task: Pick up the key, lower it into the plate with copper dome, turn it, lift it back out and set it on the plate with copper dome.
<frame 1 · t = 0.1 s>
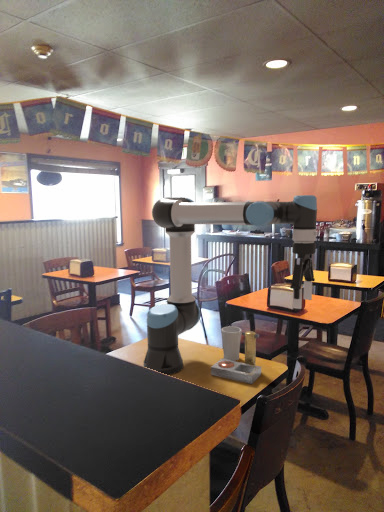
hand: (302, 303, 134), 28 cm above the table, fingers open, 13 cm apart
cup: (231, 358, 159), on the table
plate with copper dome: (236, 374, 144), on the table
key: (250, 368, 149), on the table
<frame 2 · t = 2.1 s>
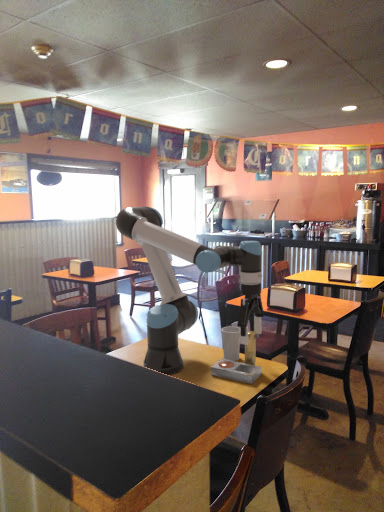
hand: (251, 338, 147), 12 cm above the table, fingers open, 13 cm apart
nothing on the table moved.
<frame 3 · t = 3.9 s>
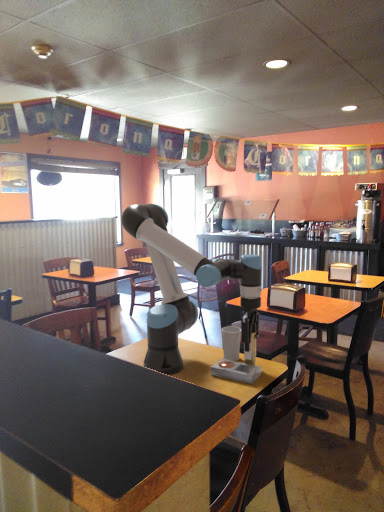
hand: (250, 356, 148), 5 cm above the table, fingers closed on key, 4 cm apart
key: (250, 368, 149), on the table, touching gripper
everything else where it was.
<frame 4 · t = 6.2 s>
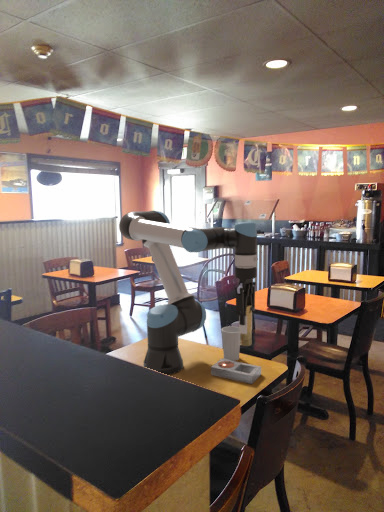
hand: (245, 331, 140), 17 cm above the table, fingers closed on key, 4 cm apart
key: (245, 344, 140), point 12 cm above the table, touching gripper
everything else where it was.
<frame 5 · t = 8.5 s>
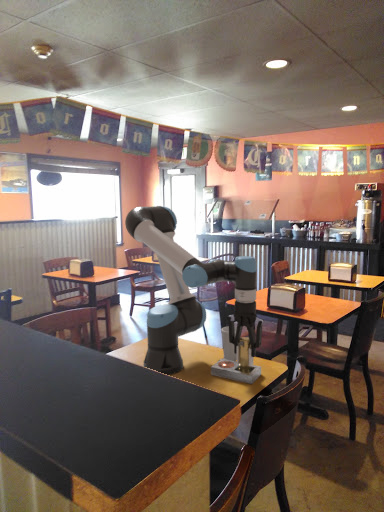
hand: (244, 363, 141), 5 cm above the table, fingers closed on key, 4 cm apart
key: (244, 376, 142), resting in plate with copper dome, touching gripper
everything else where it was.
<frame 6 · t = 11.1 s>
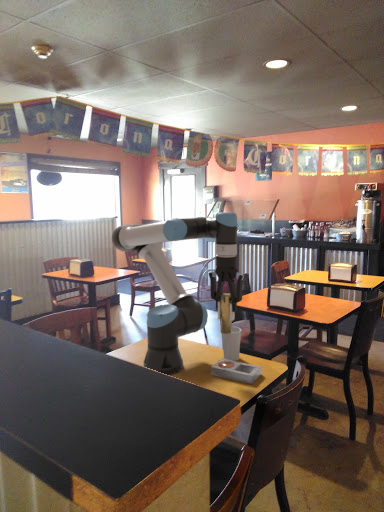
hand: (226, 319, 143), 20 cm above the table, fingers closed on key, 4 cm apart
key: (226, 331, 144), point 16 cm above the table, touching gripper
everything else where it was.
when the fingers open (9 cm above the table, at t = 13.4 s): key stays where it is, resting on plate with copper dome.
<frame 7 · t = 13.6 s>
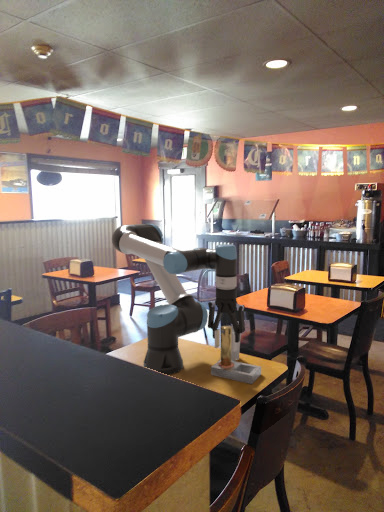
hand: (226, 348, 145), 9 cm above the table, fingers open, 7 cm apart
key: (225, 364, 145), point 3 cm above the table, touching plate with copper dome
everything else where it was.
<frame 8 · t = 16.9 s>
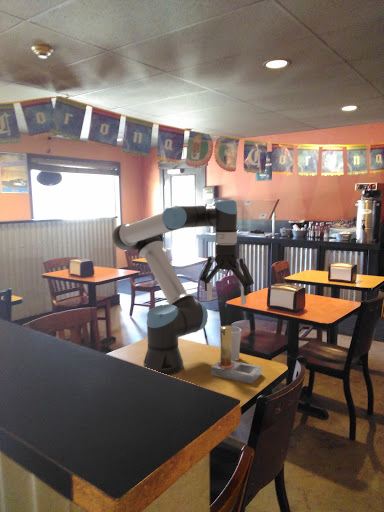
hand: (226, 302, 142), 27 cm above the table, fingers open, 13 cm apart
nothing on the table moved.
at the end: key 0.1 cm from the target spot on the plate with copper dome, point 3.2 cm above the plate with copper dome's base; key tilted 0°; the gripper is holding nothing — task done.
